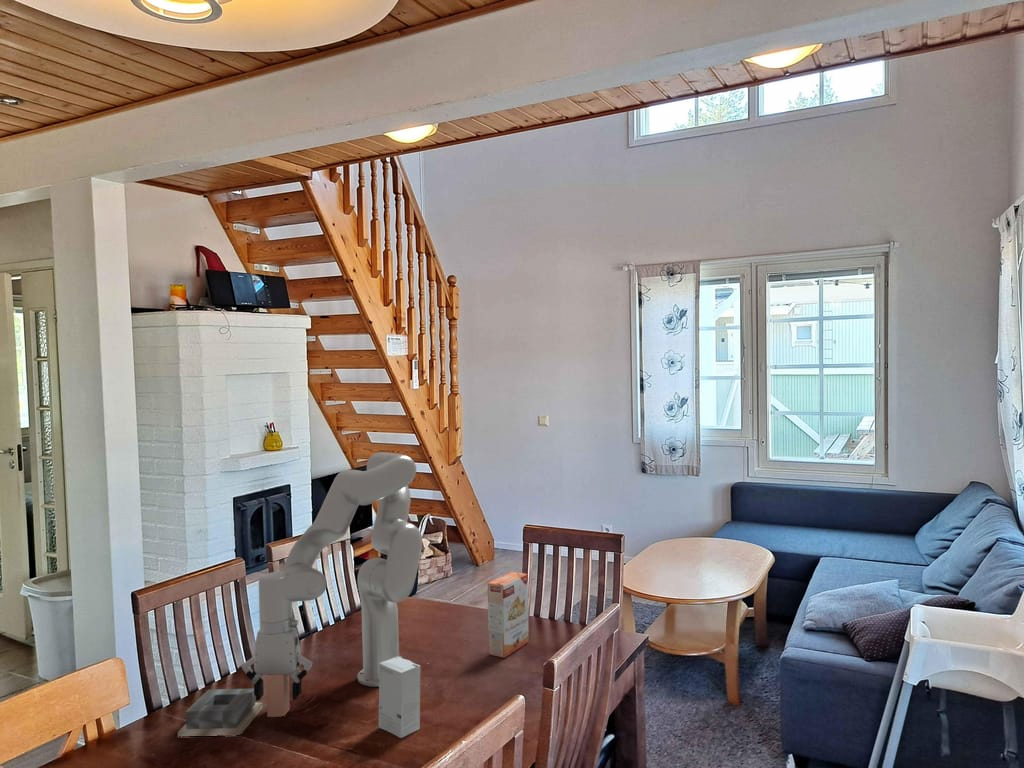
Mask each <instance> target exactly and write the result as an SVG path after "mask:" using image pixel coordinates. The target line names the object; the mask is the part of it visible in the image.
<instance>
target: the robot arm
mask: <svg viewBox="0 0 1024 768" xmlns="http://www.w3.org/2000/svg"><path fill="white" fill-rule="evenodd" d="M416 474H417V465H416V463H415V461H414V460H413V459H412V458H411V456H408V455H405V454H401V453H392V452H386V451H385V452H382V451H381V452H375V453H374V454H372V455H371V456H370V457H369V458H368V460H367V462H366V470H358V469H345V470H342V471H340V472H338V474H337V475H336V476H335V478H334V479H333V482H332V483H331V486H330V487H329V490H328V492H327V494H326V497H325V498H324V500H323V503H322V505H321V507H320V509H319V510H318V511H319V512H318V514H317V515H316V518H315V519H314V521H313V523H312V524H311V525H310V526H309V527H307V528H306V530H305V531H304V532H303V533H302V535H301V536H300V537H299V538H298V539H297V541H296V542H295V543H294V545H293V546H292V547H291V549H290V551H289V554H288V556H287V557H286V560H285V562H284V564H283V567H282V569H281V571H272V572H268V573H266V574H265V573H264V574H263V575H262V576H261V577H260V578H259V580H258V606H259V607H258V613H259V630H258V631H257V634H256V639H255V643H254V644H255V645H254V653H253V654H254V655H253V656H252V657H251V658H250V659H247V661H245V662H244V663H242V664H241V668H242V670H243V671H244V673H245V674H246V677H247V678H248V679H249V680H250V681H251V684H253V689H254V695H255V702H257V701H259V702H260V700H261V698H263V696H264V679H263V678H262V677H263V676H266V675H268V674H289V677H291V679H292V680H293V683H292V685H291V686H292V690H291V691H292V700H293V701H295V700H297V699H298V697H300V695H301V694H302V680H303V678H305V677H306V675H307V674H308V673H309V670H310V669H311V668H312V665H313V664H314V663H313V661H311V660H310V659H308V658H307V657H305V656H303V655H302V654H301V647H300V640H299V634H298V630H297V628H296V626H297V627H298V625H299V620H298V619H295V618H294V615H293V603H295V602H307V601H313V600H316V599H318V598H319V597H321V596H323V594H324V593H325V592H326V589H327V586H328V583H327V582H328V581H327V578H326V576H325V574H323V572H321V571H319V570H318V569H316V568H313V566H314V565H315V561H316V560H317V558H318V556H319V555H320V554H321V552H322V551H323V550H324V549H326V547H327V546H329V545H331V544H332V543H334V542H336V541H338V540H340V539H342V538H343V537H344V536H345V535H346V534H347V532H348V530H349V528H350V525H351V523H352V521H353V518H354V516H355V514H356V512H357V509H358V507H359V506H368V505H371V504H374V503H376V502H378V506H377V511H376V515H375V519H374V524H373V528H372V534H371V539H370V541H371V545H372V547H373V549H374V551H377V552H378V553H380V554H383V555H386V556H387V558H386V559H385V558H381V557H372V558H370V559H368V560H366V561H365V562H363V564H361V566H360V567H359V570H358V573H357V587H358V592H359V598H360V606H361V634H362V635H361V637H362V638H361V639H362V641H361V642H362V669H361V670H360V671H359V672H358V674H357V682H358V683H360V684H361V685H363V686H367V687H374V688H375V687H376V688H377V687H378V688H379V669H380V664H379V663H381V662H384V661H387V660H389V659H392V658H395V657H400V658H403V656H402V655H400V646H399V645H400V644H399V643H400V641H399V640H400V639H399V638H400V637H399V611H398V610H399V609H398V603H400V602H403V601H405V600H406V599H407V598H408V597H409V596H410V594H411V593H412V591H413V588H414V585H415V581H416V577H417V574H418V569H419V563H420V559H421V554H422V549H423V537H422V534H421V531H420V529H419V528H418V527H417V526H416V525H415V524H413V523H411V522H408V519H409V514H410V508H411V492H410V488H409V485H410V484H411V483H412V482H413V480H414V479H415V477H416ZM410 661H411V662H413V661H412V660H410ZM252 665H253V668H252V667H251V666H252ZM301 665H302V666H303V669H302V671H300V669H299V667H300V666H301Z"/></svg>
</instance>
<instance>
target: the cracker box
mask: <svg viewBox="0 0 1024 768" xmlns="http://www.w3.org/2000/svg"><path fill="white" fill-rule="evenodd" d="M528 580H529V574H527V573H523V572H515V571H511V572H509V573H507V574H505V575H503V576H501V577H498V578H496V579H493V580H491V581H489V582H487V623H488V624H487V625H488V626H487V629H488V630H487V631H488V636H487V637H488V655H489V656H494V657H498V658H503V659H505V658H506V657H508V656H510V655H511V654H513V653H514V652H516V651H517V650H519V649H522V647H524V646H526V645H527V644H529V643H528V642H529V641H530V638H529V636H530V635H529V581H528ZM525 644H526V645H525Z"/></svg>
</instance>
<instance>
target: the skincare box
mask: <svg viewBox="0 0 1024 768" xmlns="http://www.w3.org/2000/svg"><path fill="white" fill-rule="evenodd" d="M411 661H412V660H409V659H405V658H404V657H402V658H400V657H395V658H392V659H389V660H387V661H384V662H381V663H379V664H380V669H379V687H378V728H379V729H381V730H384V731H386V732H388V733H391V734H392V735H394V736H396V737H397V738H399V739H403V738H404V737H406V736H409V735H411V734H412V733H414V732H417V731H418V730H420V726H421V725H420V721H421V720H420V719H421V665H420V664H417V663H414V662H413V661H412V662H411Z"/></svg>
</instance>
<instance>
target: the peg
mask: <svg viewBox="0 0 1024 768" xmlns="http://www.w3.org/2000/svg"><path fill="white" fill-rule="evenodd" d="M265 677H266V679H265V680H266V681H265V682H266V709H267V710H266V712H267V713H266V716H267V718H270V717H271V718H273V717H274V718H277V717H282V716H284V717H285V716H286V715H287V713H288V712H289V711H290V708H291V707H290V706H291V705H290V675H289V674H268V675H265Z"/></svg>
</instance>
